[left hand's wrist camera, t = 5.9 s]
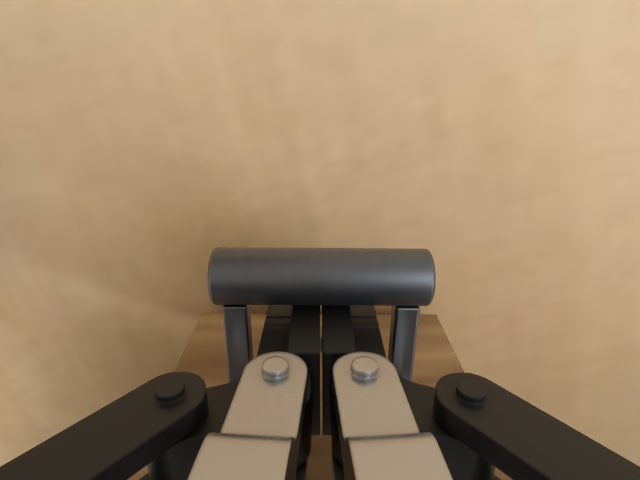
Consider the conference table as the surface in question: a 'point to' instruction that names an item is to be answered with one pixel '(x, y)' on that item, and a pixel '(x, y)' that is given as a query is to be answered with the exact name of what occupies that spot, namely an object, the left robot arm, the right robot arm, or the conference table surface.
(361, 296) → the drawer
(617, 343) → the conference table surface
